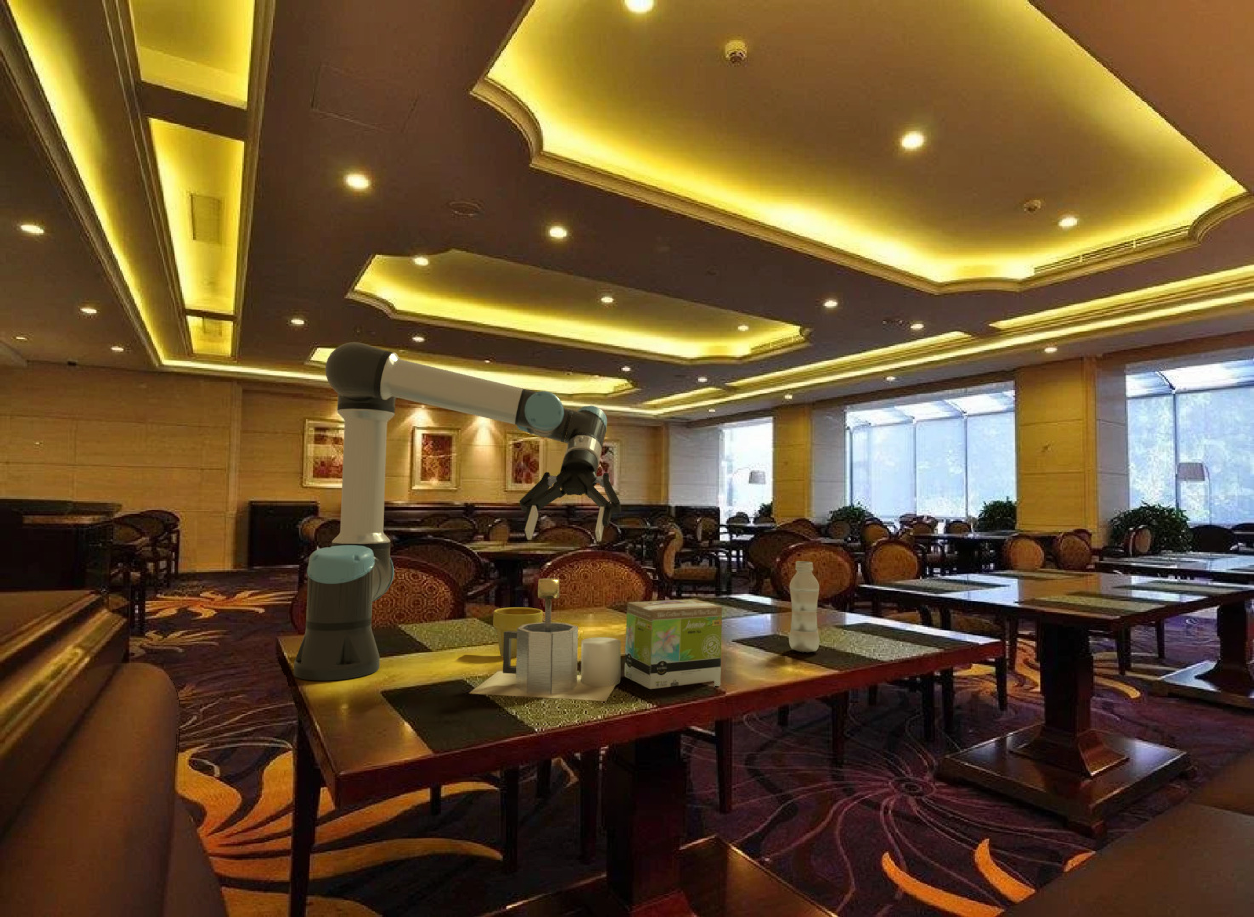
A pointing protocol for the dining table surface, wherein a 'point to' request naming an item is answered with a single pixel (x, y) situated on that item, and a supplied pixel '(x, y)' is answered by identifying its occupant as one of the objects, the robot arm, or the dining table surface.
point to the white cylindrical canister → (600, 661)
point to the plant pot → (514, 623)
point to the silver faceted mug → (543, 658)
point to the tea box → (673, 643)
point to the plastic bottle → (804, 609)
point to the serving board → (507, 687)
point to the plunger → (548, 597)
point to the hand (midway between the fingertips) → (562, 535)
